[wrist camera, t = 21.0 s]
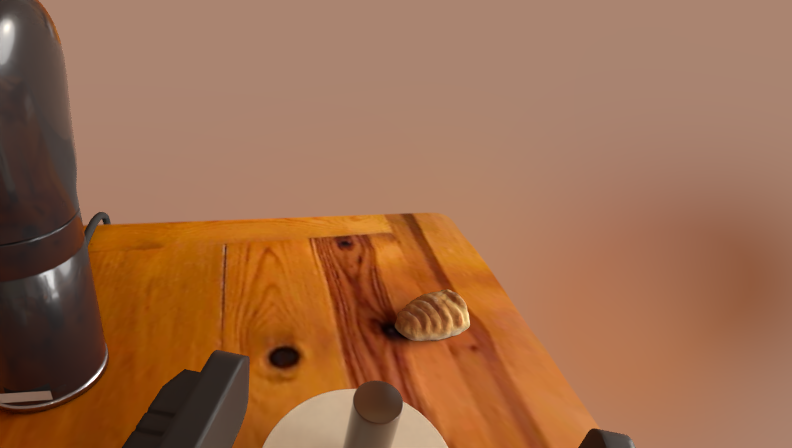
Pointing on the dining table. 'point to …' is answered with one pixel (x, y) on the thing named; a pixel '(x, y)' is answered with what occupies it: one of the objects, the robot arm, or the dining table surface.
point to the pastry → (433, 316)
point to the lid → (355, 422)
